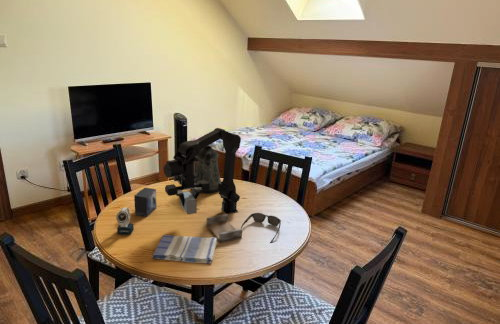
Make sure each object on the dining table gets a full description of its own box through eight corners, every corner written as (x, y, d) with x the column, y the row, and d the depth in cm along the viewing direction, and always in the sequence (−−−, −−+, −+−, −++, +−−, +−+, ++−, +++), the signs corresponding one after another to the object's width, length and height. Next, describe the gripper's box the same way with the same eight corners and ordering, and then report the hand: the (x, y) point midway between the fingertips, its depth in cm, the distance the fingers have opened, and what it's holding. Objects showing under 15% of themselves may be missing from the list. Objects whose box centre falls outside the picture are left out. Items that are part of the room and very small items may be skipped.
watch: (116, 236, 145) (114, 213, 142) (122, 227, 153) (120, 204, 149) (129, 237, 145) (127, 213, 142) (135, 227, 153) (133, 205, 149)
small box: (147, 217, 162) (146, 197, 159) (134, 215, 163) (133, 195, 160) (157, 208, 172) (156, 188, 169) (145, 206, 173) (144, 187, 170)
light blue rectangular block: (188, 202, 158) (188, 190, 156) (196, 213, 149) (196, 200, 147) (180, 204, 157) (179, 192, 155) (187, 214, 147) (187, 201, 145)
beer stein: (212, 181, 210) (213, 141, 202) (229, 192, 195) (231, 149, 187) (187, 186, 200) (187, 144, 192) (203, 198, 185) (204, 154, 178)
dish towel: (212, 265, 130) (212, 259, 129) (150, 261, 131) (150, 254, 130) (218, 241, 147) (218, 235, 146) (163, 237, 148) (163, 231, 147)
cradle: (226, 221, 162) (227, 214, 161) (241, 237, 149) (242, 229, 148) (206, 225, 158) (206, 217, 156) (220, 242, 145) (220, 234, 143)
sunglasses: (283, 226, 161) (284, 217, 159) (272, 248, 147) (273, 238, 145) (250, 219, 166) (250, 210, 164) (237, 239, 152) (236, 230, 150)
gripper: (201, 164, 158) (201, 195, 163) (161, 168, 150) (162, 201, 155) (210, 171, 149) (210, 204, 154) (168, 177, 141) (169, 211, 146)
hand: (188, 205), depth 152 cm, fingers closed on light blue rectangular block, 4 cm apart
